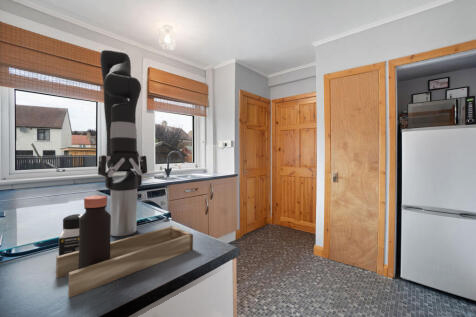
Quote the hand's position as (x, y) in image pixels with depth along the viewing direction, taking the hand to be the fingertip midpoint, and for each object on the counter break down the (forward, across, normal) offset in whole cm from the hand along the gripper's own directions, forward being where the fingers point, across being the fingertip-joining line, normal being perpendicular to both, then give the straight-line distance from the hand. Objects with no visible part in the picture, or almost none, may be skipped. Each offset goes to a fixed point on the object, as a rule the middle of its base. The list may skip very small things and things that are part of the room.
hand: (124, 188), depth 71 cm
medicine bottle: (+20, +11, -9) cm, 24 cm away
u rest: (+21, +1, +8) cm, 22 cm away
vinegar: (+21, +11, +8) cm, 25 cm away
